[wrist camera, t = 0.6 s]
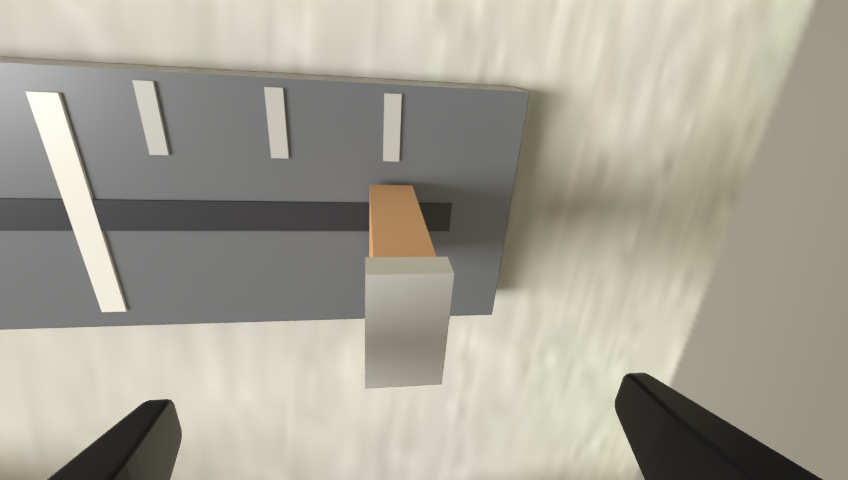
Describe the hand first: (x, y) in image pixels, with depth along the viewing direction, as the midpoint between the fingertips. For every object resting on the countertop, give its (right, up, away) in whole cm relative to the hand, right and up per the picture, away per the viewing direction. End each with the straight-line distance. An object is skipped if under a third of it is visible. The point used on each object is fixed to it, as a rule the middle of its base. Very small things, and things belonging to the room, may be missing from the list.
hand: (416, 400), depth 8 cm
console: (-7, +5, +9) cm, 13 cm away
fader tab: (-1, +4, +8) cm, 9 cm away
